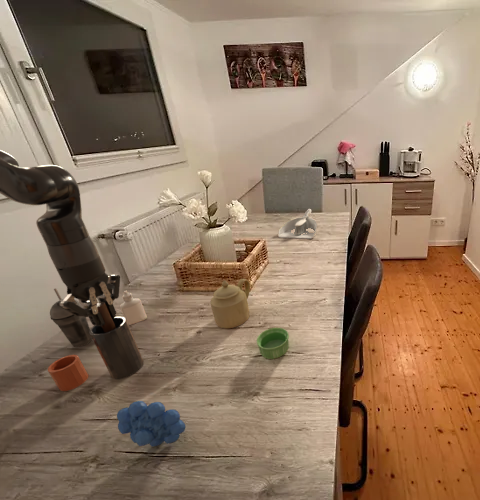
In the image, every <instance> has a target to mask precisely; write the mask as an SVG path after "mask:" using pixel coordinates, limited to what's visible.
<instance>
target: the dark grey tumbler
mask: <svg viewBox="0 0 480 500" xmlns="http://www.w3.org/2000/svg"><path fill="white" fill-rule="evenodd" d="M112 320H113V322H114V324H115V326H116V329H114V330H111V331H109V332H106V333H104V331H103V329H102V326H96V325H92V327H91V328H90V331H89V333H90V335H91V337H92V341H93V343H94V345H95V347H96V350H97V351H98V354H99V356H100V357H101V360H102V361H103V363H104V366H105V367H106V369H107V372H108V373H109V375H110V378H111V379H113V380H123V379H126V378H129V377H131V376H133V375H135V374H136V373H137V372H139V371H140V370H141V369H142V367H143V366H144V363H145V362H144V358H143V357H142V354H141V352H140V349H139V346H138V345H137V342H136V339H135V338H134V335H133V333H132V331H131V328H130V325H128V323H127V321H126V319H125V318H124V316H116V317H115V318H113V319H112Z"/></svg>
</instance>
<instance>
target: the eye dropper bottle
mask: <svg viewBox="0 0 480 500" xmlns="http://www.w3.org/2000/svg"><path fill="white" fill-rule="evenodd" d="M121 297H122V300H123V302H122V303H120V305H119V309H120V311H121V314H122V317H124V318H125V319H126V321H127V323H128V326H131V325H134V324H137V323H140V322H141V321H142V322H144V321H145V320H146V319H147V318H148V316H147V313H146V310H145V308H144V305H143V303H142V300H141V299H140V298H138V297H135V298H134V297H133V294H132V293H131V292H128V291H127V290H124V291H123V295H122V296H121Z"/></svg>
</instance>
